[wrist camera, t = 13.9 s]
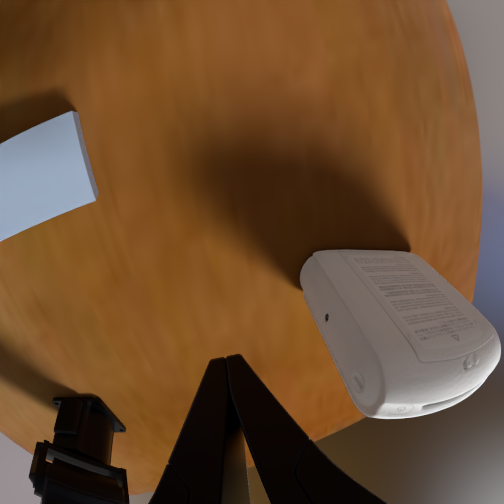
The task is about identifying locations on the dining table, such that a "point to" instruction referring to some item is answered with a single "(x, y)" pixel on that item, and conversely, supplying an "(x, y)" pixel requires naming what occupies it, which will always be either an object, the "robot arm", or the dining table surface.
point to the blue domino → (44, 174)
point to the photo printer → (397, 331)
